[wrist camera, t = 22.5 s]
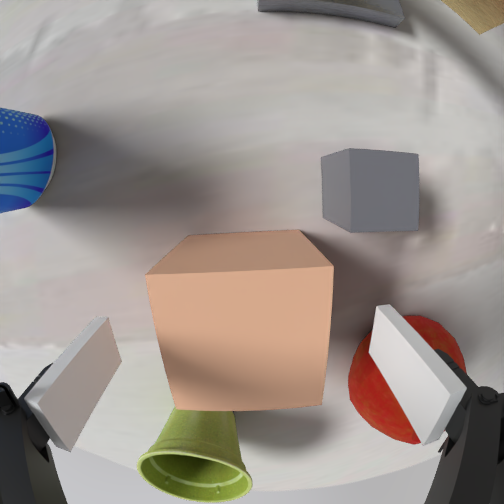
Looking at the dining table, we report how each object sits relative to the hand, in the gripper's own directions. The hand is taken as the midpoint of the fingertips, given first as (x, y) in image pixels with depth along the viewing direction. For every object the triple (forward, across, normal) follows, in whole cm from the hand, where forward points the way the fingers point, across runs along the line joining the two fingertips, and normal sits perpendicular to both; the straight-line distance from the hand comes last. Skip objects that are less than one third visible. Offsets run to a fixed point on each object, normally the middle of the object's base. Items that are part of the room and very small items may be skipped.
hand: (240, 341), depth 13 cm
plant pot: (+9, -5, -15) cm, 18 cm away
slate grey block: (+9, +8, +6) cm, 14 cm away
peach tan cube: (+9, 0, -1) cm, 9 cm away
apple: (+9, +13, -9) cm, 18 cm away
